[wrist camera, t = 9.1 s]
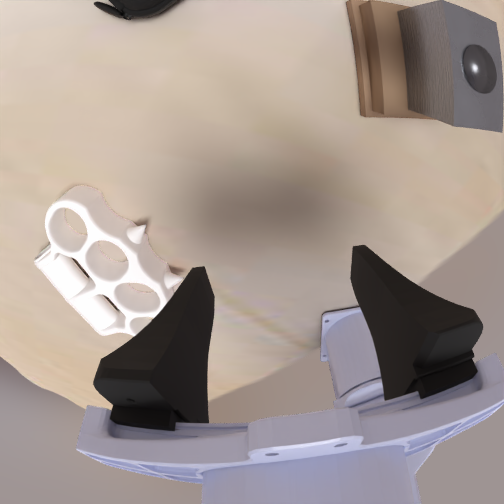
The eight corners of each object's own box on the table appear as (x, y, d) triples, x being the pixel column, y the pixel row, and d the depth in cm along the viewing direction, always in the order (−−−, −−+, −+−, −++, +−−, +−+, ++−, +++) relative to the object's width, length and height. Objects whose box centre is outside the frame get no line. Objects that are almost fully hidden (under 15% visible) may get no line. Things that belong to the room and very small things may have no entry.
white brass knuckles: (27, 226, 23) (115, 155, 19) (120, 335, 32) (217, 308, 29) (10, 244, 20) (96, 169, 17) (112, 356, 29) (215, 333, 26)
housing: (448, 24, 10) (497, 22, 6) (455, 113, 14) (503, 133, 10) (396, 11, 10) (443, -1, 6) (407, 109, 14) (455, 127, 10)
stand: (452, 119, 17) (474, 128, 14) (360, 115, 17) (377, 122, 15) (445, 21, 11) (467, 19, 9) (346, 2, 12) (361, -8, 10)
